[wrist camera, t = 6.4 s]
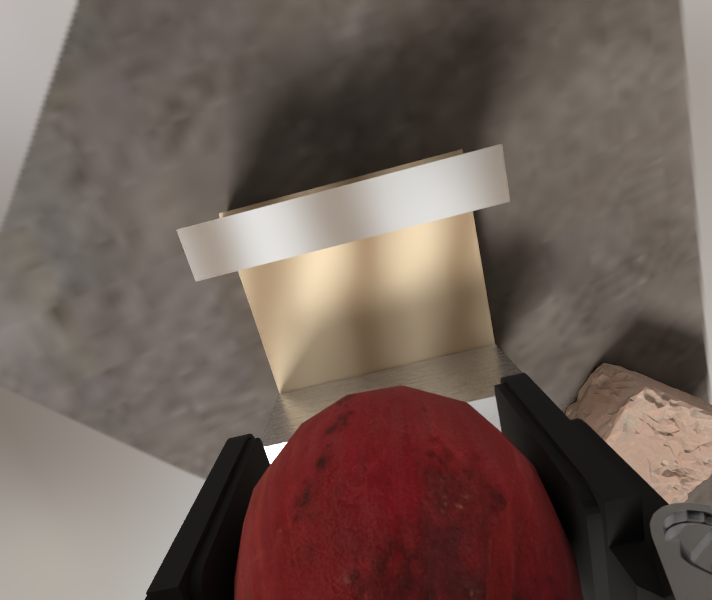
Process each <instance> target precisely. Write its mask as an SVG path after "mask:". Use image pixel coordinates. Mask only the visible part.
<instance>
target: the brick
mask: <svg viewBox="0 0 712 600" xmlns="http://www.w3.org/2000/svg"><path fill="white" fill-rule="evenodd" d="M565 415H566V416H567V417H568V418H569V419H570V420H571V419H576V418H579V419H582V420H583V421H585V422H586V423H587V424H588V425H589V426H590V427H591V428H592V429H593V430H594V431H595V432H596V433H597V434H598V435H599V436H600V437H601V438H602V439H603V440H604V441H605V442H606V443H607V444H608V445H609V446H610V447H611V448H612V449H613V450H614V451H615V452H616V453H618V454H619V455H620V456H621V457H622V458H623V459H624V460H625V461H626V462H627V463H628V464H629V465H630V466H631V467H632V468H633V469H634V470H635V471H636V472H637V473H638V474H639V475H640V476H641V477H642V478H643V479H644V480H645V481H646V482H647V483H648V484H649V485H650V486H651V487H652V488H653V489H654V490H655V491H656V492H657V493H658V494H659V495H660V496H661V497H662V498H663V499H664V500H665V501H666V502H667V503H668V504H669V505H670V504H673V503H685V501H686V500H687V499H688V493H689V492H690V491H692V490H693V489H694V488H695V487H696V486H697V485H698V484H701V483H702V481H703V480H706V479H708V478H709V476H710V475H711V474H712V405H711V404H709V403H707V402H705V401H704V400H702V399H700V398H697V397H695V396H692V395H690V394H688V393H686V392H684V391H681V390H679V389H676V388H672V387H670V386H667V385H665V384H663V383H661V382H658V381H655V380H653V379H652V378H649V377H647V376H645V375H642V374H640V373H638V372H635V371H629V370H627V369H625V368H623V367H621V366H618V365H617V366H615V365H612V364H608V363H603V364H602V365H600V366H599V367H598V368H597V369H596V370H595V371H594V372H593V373H592V374H591V375H590V376H589V378H588V379H587V381H586V382H585V384H584V385H583V386H582V388H581V389H580V390H579V393H578V397H577V401H576V402H575V403H572V404H570V405H569V407H568V408H567V410H566V413H565Z"/></svg>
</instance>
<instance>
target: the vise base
mask: <svg viewBox="0 0 712 600" xmlns="http://www.w3.org/2000/svg"><path fill="white" fill-rule="evenodd" d="M507 202H510V197H509V190H508V183H507V176H506V169H505V162H504V155H503V148H502V144H499V145H495V146H492V147H488V148H484V149H480V150H476V151H473V152H469V153H465V154H463V150H462V149H460V150H457V151H453V152H449V153H445V154H441V155H438V156H434V157H430V158H426V159H423V160H419V161H415V162H411V163H408V164H404V165H400V166H396V167H392V168H389V169H385V170H381V171H377V172H374V173H370V174H366V175H362V176H359V177H355V178H351V179H347V180H343V181H340V182H336V183H332V184H328V185H325V186H321V187H317V188H313V189H310V190H306V191H302V192H298V193H294V194H291V195H287V196H283V197H279V198H276V199H272V200H268V201H264V202H261V203H257V204H253V205H249V206H245V207H242V208H238V209H234V210H230V211H227V212H223V213H219V216H220V218H219V219H215V220H212V221H208V222H204V223H200V224H197V225H193V226H189V227H185V228H181V229H178V230H177V232H178V235H179V238H180V241H181V243H182V246H183V249H184V251H185V254H186V257H187V259H188V262H189V265H190V267H191V270H192V273H193V276H194V278H195V281H200V280H204V279H208V278H212V277H216V276H219V275H223V274H227V273H231V272H235V271H238V272H239V275H240V278H241V281H242V284H243V287H244V290H245V293H246V296H247V298H248V301H249V304H250V307H251V310H252V313H253V316H254V319H255V322H256V325H257V328H258V331H259V334H260V337H261V340H262V343H263V346H264V349H265V352H266V354H267V357H268V360H269V363H270V366H271V369H272V372H273V375H274V378H275V381H276V384H277V387H278V390H279V393H280V394H281V393H285V392H290V391H294V390H298V389H303V388H307V387H311V386H316V385H320V384H324V383H329V382H333V381H337V380H342V379H346V378H350V377H355V376H359V375H363V374H368V373H372V372H376V371H381V370H385V369H389V368H394V367H398V366H402V365H407V364H411V363H415V362H420V361H424V360H428V359H433V358H437V357H441V356H446V355H450V354H454V353H459V352H463V351H467V350H472V349H476V348H480V347H485V346H489V345H493V344H495V341H494V335H493V329H492V323H491V317H490V311H489V305H488V299H487V293H486V287H485V281H484V275H483V269H482V263H481V258H480V252H479V246H478V240H477V234H476V228H475V222H474V216H473V211H475V210H479V209H483V208H487V207H491V206H495V205H499V204H503V203H507Z"/></svg>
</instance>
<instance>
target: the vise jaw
mask: <svg viewBox="0 0 712 600" xmlns="http://www.w3.org/2000/svg"><path fill="white" fill-rule="evenodd" d="M519 373H523V372H522V371H521V370H520V369H519V368H518V367H517V366H516V365H515V364H514V363H513V362H512V361H511V360H510V359H509V358H508V357H507V356H506V355H505V354H504V353H503V351H502V350H501V349H500V348H499V347H498V346H497V345H496V344H493V345H489V346H485V347H480V348H476V349H472V350H467V351H463V352H459V353H454V354H450V355H446V356H441V357H437V358H433V359H428V360H424V361H420V362H415V363H411V364H407V365H402V366H398V367H394V368H389V369H385V370H381V371H376V372H372V373H368V374H363V375H359V376H355V377H350V378H346V379H342V380H337V381H333V382H329V383H324V384H320V385H316V386H311V387H307V388H303V389H298V390H294V391H290V392H285V393H281V394H279V396H278V399H277V401H276V404H275V406H274V409H273V411H272V414H271V416H270V419H269V422H268V424H267V427H266V429H265V432H264V434H263V437H262V439H261V441H262V443H263V446H264V448H265V451H266V454H267V456H268V459H269V462H270V464H271V463H272V461H273V460H274V459H275V457H276V456H277V455H278V453H279V452H280V451H281V450H282V448H283V447H284V446H285V444H286V443H287V442H288V440H289V439H290V438H291V437H292V435H293V434H294V433H295V431H296V430H297V429H298V427H299V426H300V425H301V424H302V423H303V422H305V421H307V420H308V419H310V418H311V417H313V416H314V415H316V414H317V413H319V412H321V411H322V410H324V409H325V408H327V407H328V406H330V405H332V404H333V403H335V402H336V401H338V400H339V399H341V398H343V397H344V396H346V395H349V394H354V393H360V392H366V391H371V390H377V389H383V388H388V387H394V386H400V385H403V386H408V387H411V388H415V389H419V390H423V391H426V392H430V393H434V394H438V395H441V396H445V397H449V398H453V399H456V400H460V401H464V402H467V403H468V404H470V405H471V406H472V407H473V408H474V409H475V410H477V411H478V412H479V413H480V414H481V415H482V416H483V417H485V418H486V419H487V420H488V421H489V422H490V423H492V424H493V425H494V426H495V427H496V428H497V429H498V430H500V431H501V426H500V420H499V414H498V408H497V403H496V397H495V391H494V386H495V385H497V384H501V383H500V380H501V377H506V376H510V375H515V374H519ZM501 432H502V431H501Z"/></svg>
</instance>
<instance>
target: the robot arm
mask: <svg viewBox="0 0 712 600" xmlns="http://www.w3.org/2000/svg"><path fill="white" fill-rule="evenodd" d="M500 383H501V384H497V385H495V386H494V391H495V397H496V403H497V408H498V414H499V420H500V426H501V431H502V433H503V434H504V435H505V436H507V437H508V438H509V439H510V440H511V441H512V442H513V444H514V445H515V446H516V447H517V448H518V449H519V450H520V451H521V452H522V453H523V454H524V455H525V456H526V457H527V458H528V460H529V461H530V462H531V463H532V464H533V465H534V466H535V469H536V471H537V473H538V475H539V477H540V479H541V481H542V483H543V486H544V488H545V490H546V492H547V494H548V496H549V498H550V500H551V503H552V505H553V507H554V509H555V511H556V514H557V516H558V518H559V520H560V523H561V525H562V527H563V529H564V531H565V534H566V536H567V538H568V540H569V543H570V545H571V547H572V549H573V552H574V554H575V558H576V563H577V568H578V573H579V578H580V583H581V588H582V593H583V599H584V600H712V506H709V505H703V504H697V503H673V504H670V505H669V504H668V503H667V502H666V501H665V500H664V499H663V498H662V497H661V496H660V495H659V494H658V493H657V492H656V491H655V490H654V489H653V488H652V487H651V486H650V485H649V484H648V483H647V482H646V481H645V480H644V479H643V478H642V477H641V476H640V475H639V474H638V473H637V472H636V471H635V470H634V469H633V468H632V467H631V466H630V465H629V464H628V463H627V462H626V461H625V460H624V459H623V458H622V457H621V456H620V455H619V454H618V453H616V452H615V451H614V450H613V449H612V448H611V447H610V446H609V445H608V444H607V443H606V442H605V441H604V440H603V439H602V438H601V437H600V436H599V435H598V434H597V433H596V432H595V431H594V430H593V429H592V428H591V427H590V426H589V425H588V424H587V423H586V422H585V421H583V420H582V419H579V418H576V419H571V420H570V419H569V418H568V417H567V416H566V415H565V414H564V413H563V412H562V411H561V410H560V409H559V408H558V407H557V406H556V405H555V403H554V402H553V401H552V400H551V399H550V398H549V397H548V396H547V395H546V394H545V393H544V392H543V391H542V390H541V389H540V388H539V387H538V386H537V385H536V384H535V383H534V382H533V381H532V379H531V378H530V377H529V376H528V375H527V374H525V373H519V374H515V375H510V376H506V377H501V380H500ZM269 466H270V462H269V459H268V456H267V454H266V451H265V448H264V446H263V443H262V441H261V439H260V438H254V436H253V435H252V434H247V435H242V436H238V437H233V438H230V439H228V440H227V441H226V443H225V445H224V447H223V449H222V451H221V453H220V455H219V457H218V458H217V460H216V462H215V464H214V466H213V468H212V470H211V472H210V473H209V475H208V477H207V479H206V481H205V483H204V485H203V487H202V489H201V490H200V492H199V494H198V496H197V498H196V500H195V502H194V504H193V506H192V507H191V509H190V511H189V513H188V515H187V517H186V519H185V521H184V523H183V525H182V526H181V528H180V530H179V532H178V534H177V536H176V538H175V539H174V541H173V543H172V545H171V547H170V549H169V551H168V553H167V555H166V557H165V558H164V560H163V563H162V564H161V566H160V568H159V570H158V572H157V574H156V575H155V577H154V579H153V581H152V583H151V585H150V587H149V589H148V590H147V593H146V594H147V597H146V598H145V600H234V578H235V572H236V565H237V559H238V553H239V547H240V540H241V534H242V528H243V523H244V519H245V516H246V513H247V509H248V506H249V503H250V499H251V496H252V492H253V489H254V487H255V486H256V484H257V483H258V482H259V480H260V479H261V477H262V476H263V474H264V473H265V471H266V470H267V468H268V467H269Z"/></svg>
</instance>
